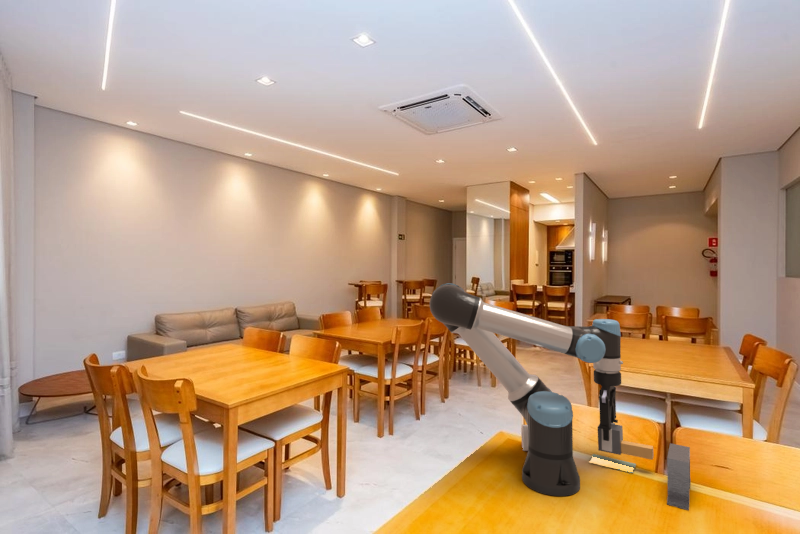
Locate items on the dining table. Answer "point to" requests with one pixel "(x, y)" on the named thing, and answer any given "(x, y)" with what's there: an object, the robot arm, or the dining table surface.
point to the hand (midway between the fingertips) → (608, 446)
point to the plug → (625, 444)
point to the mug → (524, 437)
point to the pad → (616, 461)
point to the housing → (678, 476)
